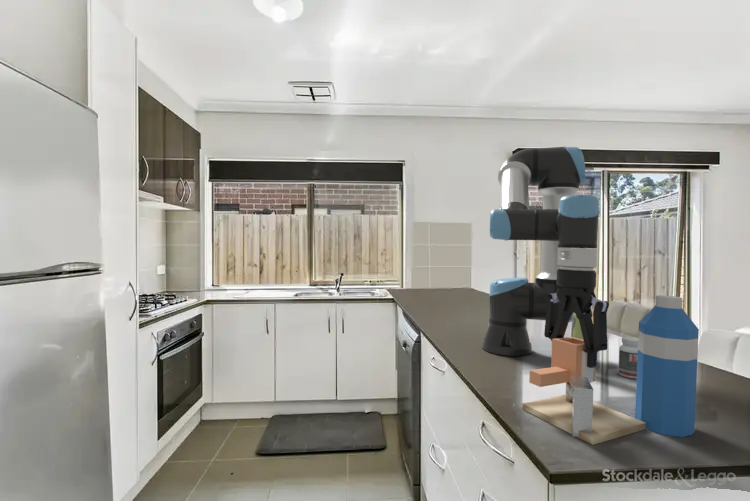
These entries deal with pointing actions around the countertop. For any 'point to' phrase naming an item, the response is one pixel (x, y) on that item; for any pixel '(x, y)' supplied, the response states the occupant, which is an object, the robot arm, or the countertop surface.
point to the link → (561, 363)
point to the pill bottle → (628, 357)
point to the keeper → (581, 405)
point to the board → (603, 419)
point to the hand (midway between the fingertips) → (572, 376)
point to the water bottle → (667, 369)
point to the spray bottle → (576, 327)
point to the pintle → (569, 393)
